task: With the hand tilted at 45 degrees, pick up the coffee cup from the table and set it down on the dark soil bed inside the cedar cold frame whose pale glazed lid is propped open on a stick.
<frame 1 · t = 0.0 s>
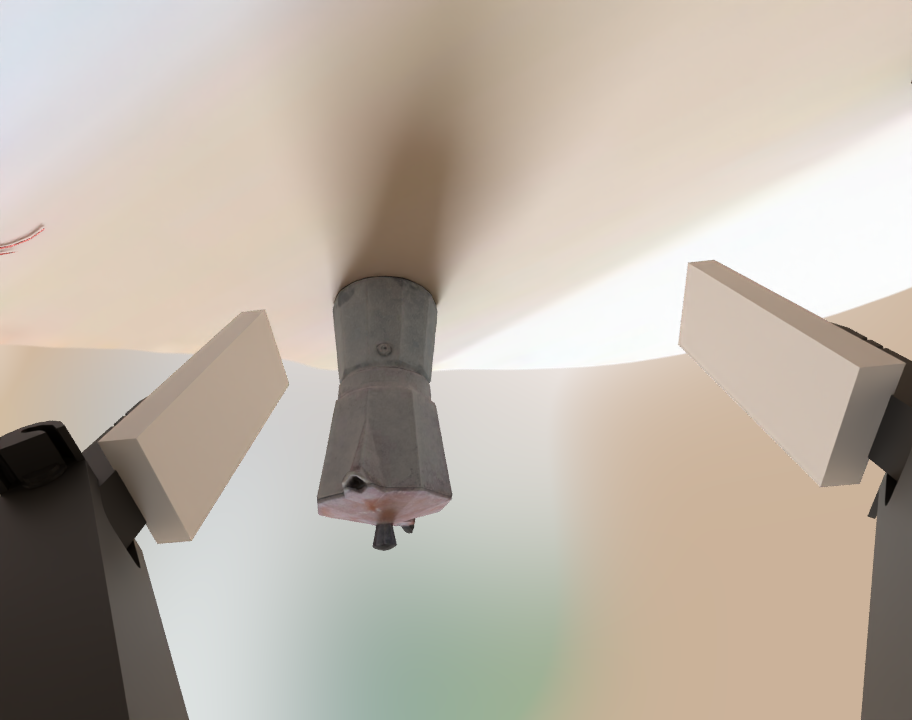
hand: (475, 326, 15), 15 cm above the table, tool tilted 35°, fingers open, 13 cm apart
moka pot: (389, 305, 41), on the table
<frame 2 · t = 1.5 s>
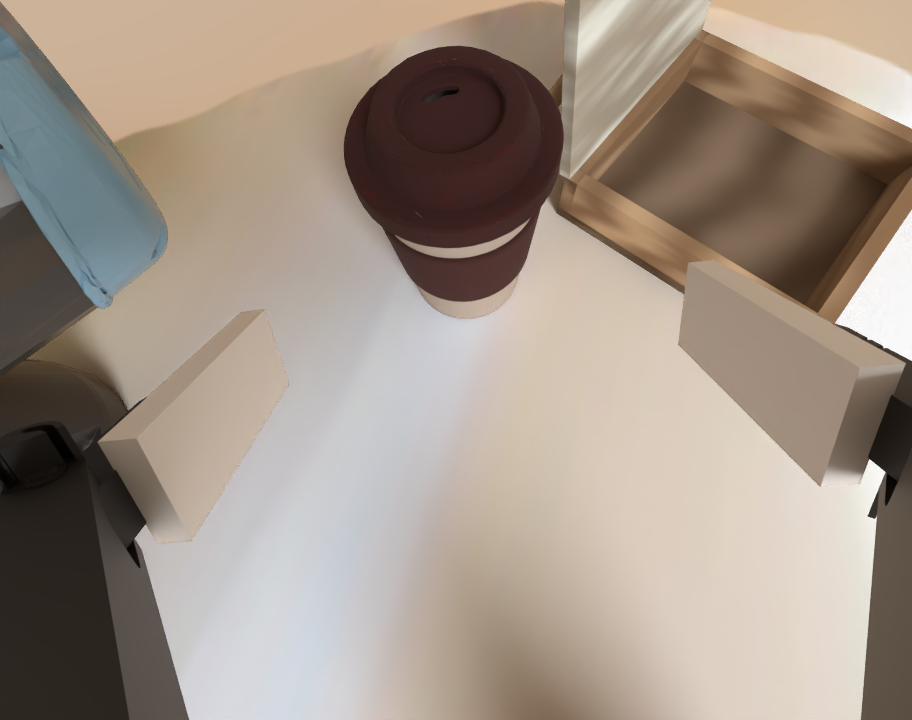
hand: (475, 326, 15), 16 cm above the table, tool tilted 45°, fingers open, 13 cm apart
coffee cup: (467, 276, 34), on the table
cold frame: (723, 201, 33), on the table
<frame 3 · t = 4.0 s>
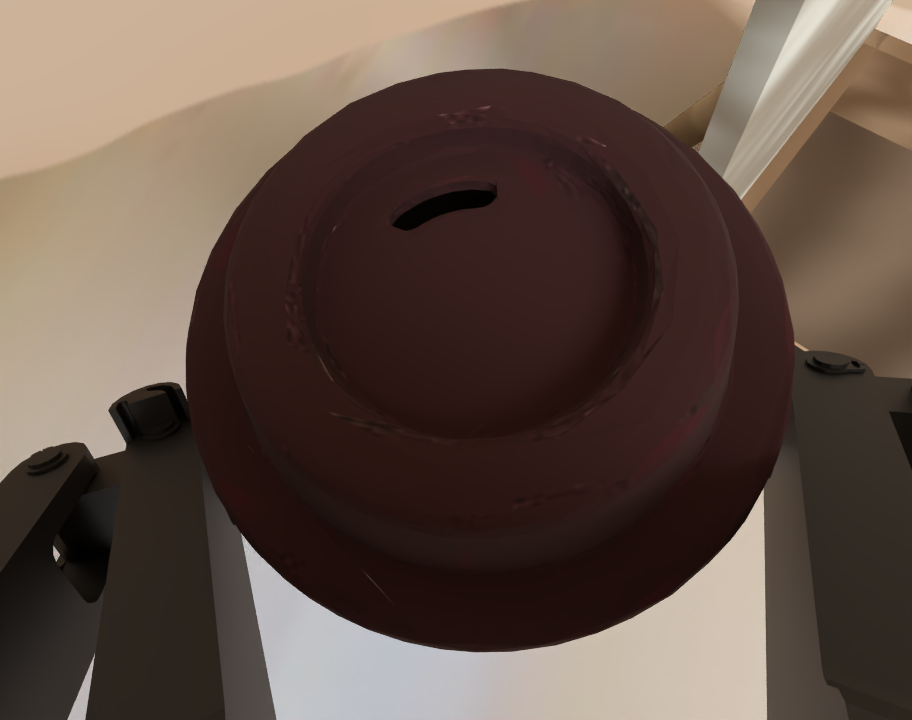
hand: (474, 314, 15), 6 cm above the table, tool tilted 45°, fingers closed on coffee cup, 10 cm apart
coffee cup: (486, 431, 20), on the table, touching gripper
cold frame: (908, 310, 20), on the table
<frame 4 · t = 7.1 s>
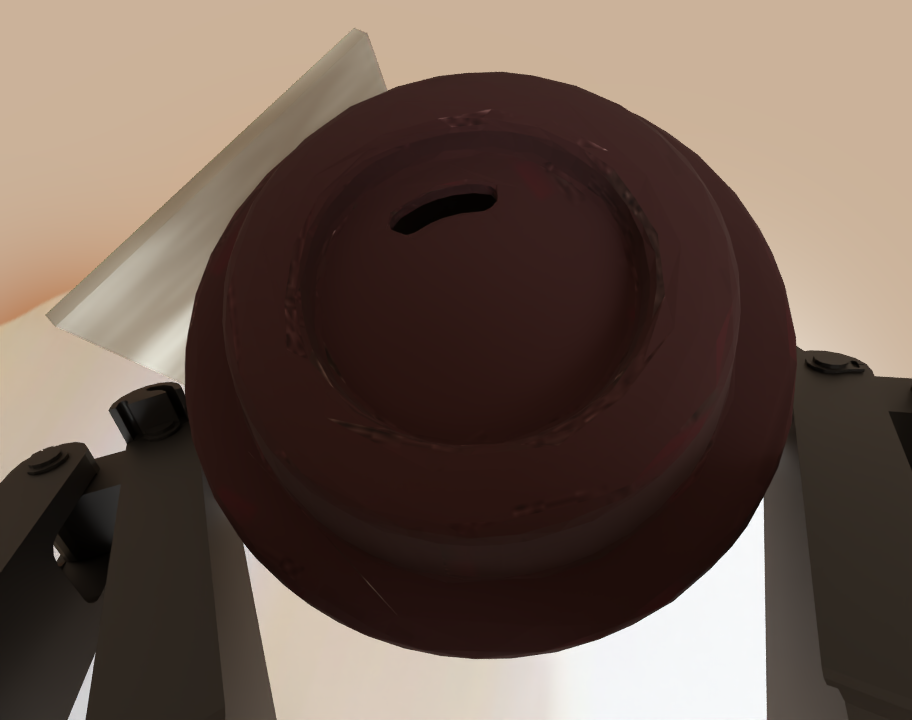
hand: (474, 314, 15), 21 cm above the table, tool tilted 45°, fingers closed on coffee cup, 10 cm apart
coffee cup: (486, 433, 20), point 15 cm above the table, touching gripper
cold frame: (476, 434, 35), on the table
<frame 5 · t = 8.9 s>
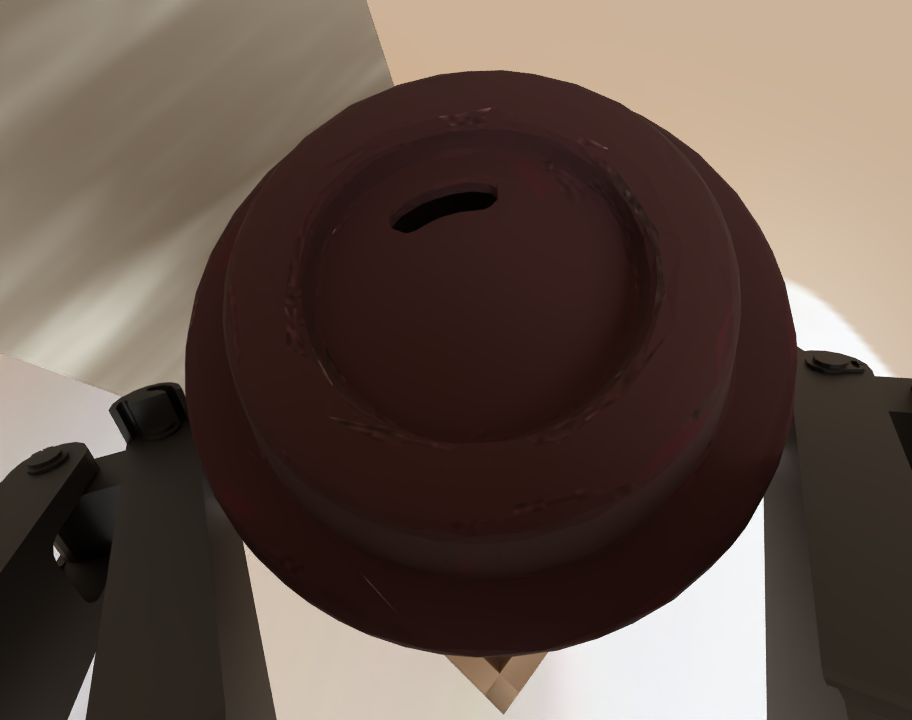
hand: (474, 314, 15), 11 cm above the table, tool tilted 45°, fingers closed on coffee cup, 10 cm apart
coffee cup: (486, 433, 20), point 5 cm above the table, touching gripper
cold frame: (464, 431, 26), on the table
when the fingers open (8 cm above the table, at t = 10.2 s): coffee cup drops 1 cm, resting on cold frame.
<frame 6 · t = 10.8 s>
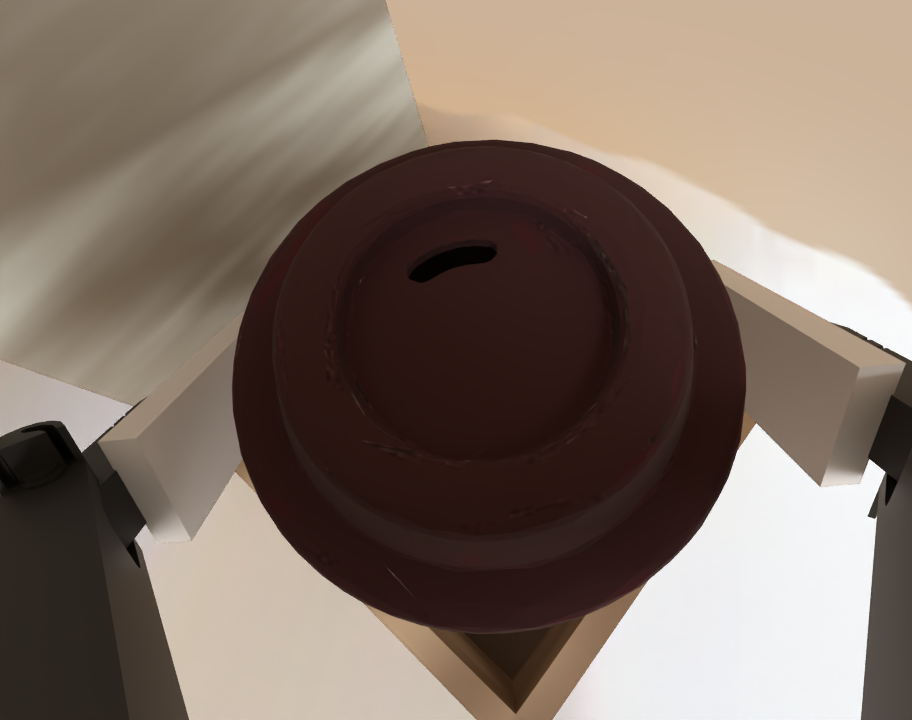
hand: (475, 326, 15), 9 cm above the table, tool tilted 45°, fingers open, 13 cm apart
coffee cup: (486, 438, 22), point 1 cm above the table, touching cold frame
cold frame: (471, 425, 23), on the table
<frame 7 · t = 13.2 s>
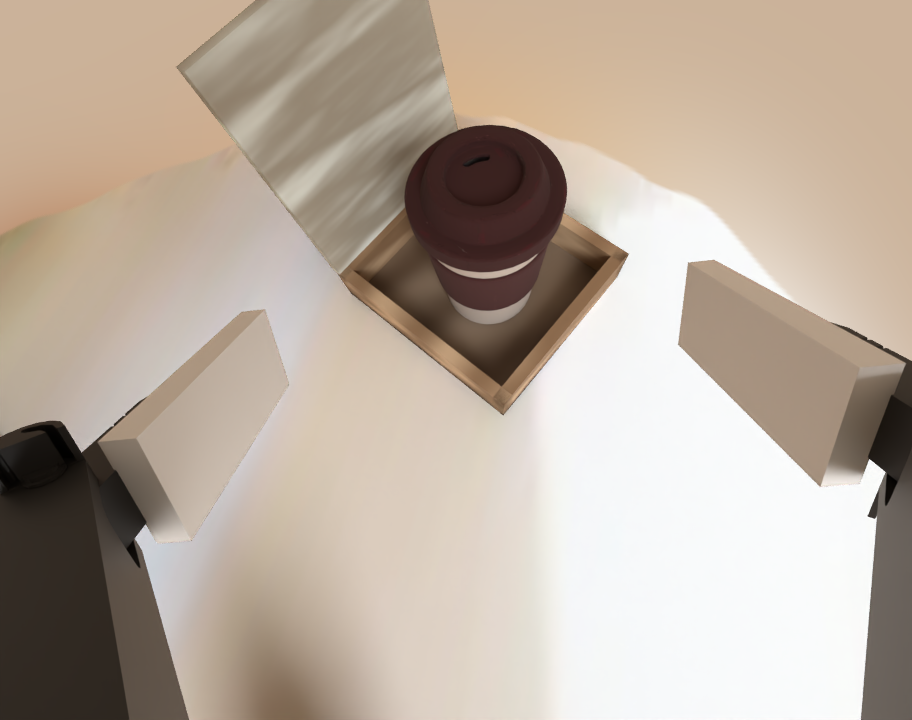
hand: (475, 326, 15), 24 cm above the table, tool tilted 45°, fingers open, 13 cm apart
coffee cup: (489, 289, 41), point 1 cm above the table, touching cold frame
cold frame: (480, 285, 42), on the table
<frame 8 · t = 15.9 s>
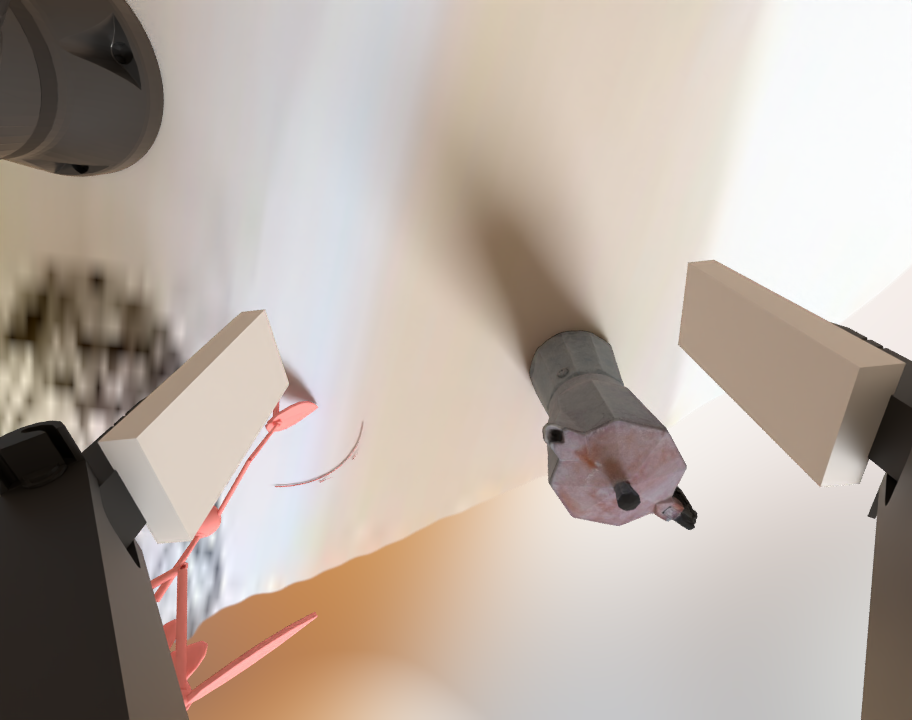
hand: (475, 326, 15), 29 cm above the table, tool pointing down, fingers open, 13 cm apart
moka pot: (575, 367, 48), on the table
figurine: (279, 435, 52), on the table
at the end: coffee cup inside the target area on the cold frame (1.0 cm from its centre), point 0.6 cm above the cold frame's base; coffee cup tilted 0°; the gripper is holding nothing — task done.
